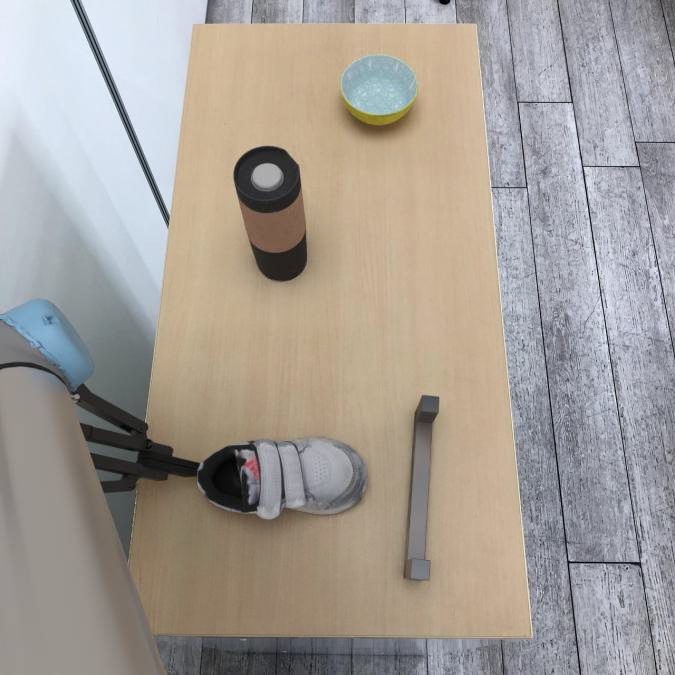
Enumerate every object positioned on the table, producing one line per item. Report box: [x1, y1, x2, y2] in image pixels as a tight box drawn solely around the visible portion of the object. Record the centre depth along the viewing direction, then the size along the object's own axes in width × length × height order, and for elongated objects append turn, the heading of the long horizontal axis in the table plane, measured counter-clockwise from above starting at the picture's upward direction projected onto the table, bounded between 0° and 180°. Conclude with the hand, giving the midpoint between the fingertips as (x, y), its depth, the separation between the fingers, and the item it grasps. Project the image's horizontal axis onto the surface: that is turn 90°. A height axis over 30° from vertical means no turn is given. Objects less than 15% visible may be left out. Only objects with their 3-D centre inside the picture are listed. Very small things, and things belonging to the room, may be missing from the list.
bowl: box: [339, 53, 419, 126], centre depth 95 cm, size 11×12×6 cm
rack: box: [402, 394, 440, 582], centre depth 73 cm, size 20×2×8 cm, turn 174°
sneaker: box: [196, 436, 368, 521], centre depth 72 cm, size 10×20×10 cm, turn 92°
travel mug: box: [232, 145, 308, 282], centre depth 79 cm, size 8×8×20 cm
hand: (192, 470), depth 74 cm, fingers closed
